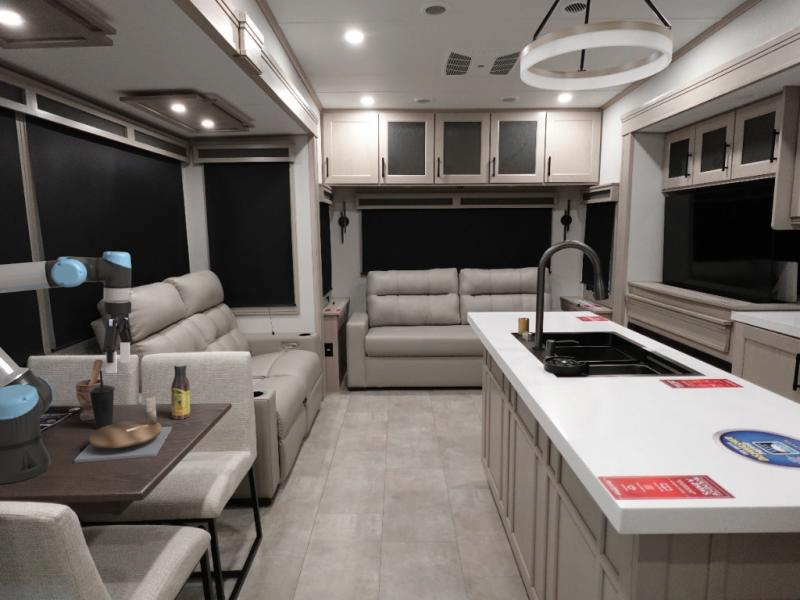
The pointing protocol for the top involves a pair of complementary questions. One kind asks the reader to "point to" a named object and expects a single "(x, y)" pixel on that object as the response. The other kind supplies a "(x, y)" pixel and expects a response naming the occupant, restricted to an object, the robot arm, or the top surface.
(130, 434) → the handwheel
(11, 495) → the top surface
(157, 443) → the wheel stand
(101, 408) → the drinking cup
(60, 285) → the robot arm
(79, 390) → the mortar and pestle
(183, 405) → the sauce bottle
